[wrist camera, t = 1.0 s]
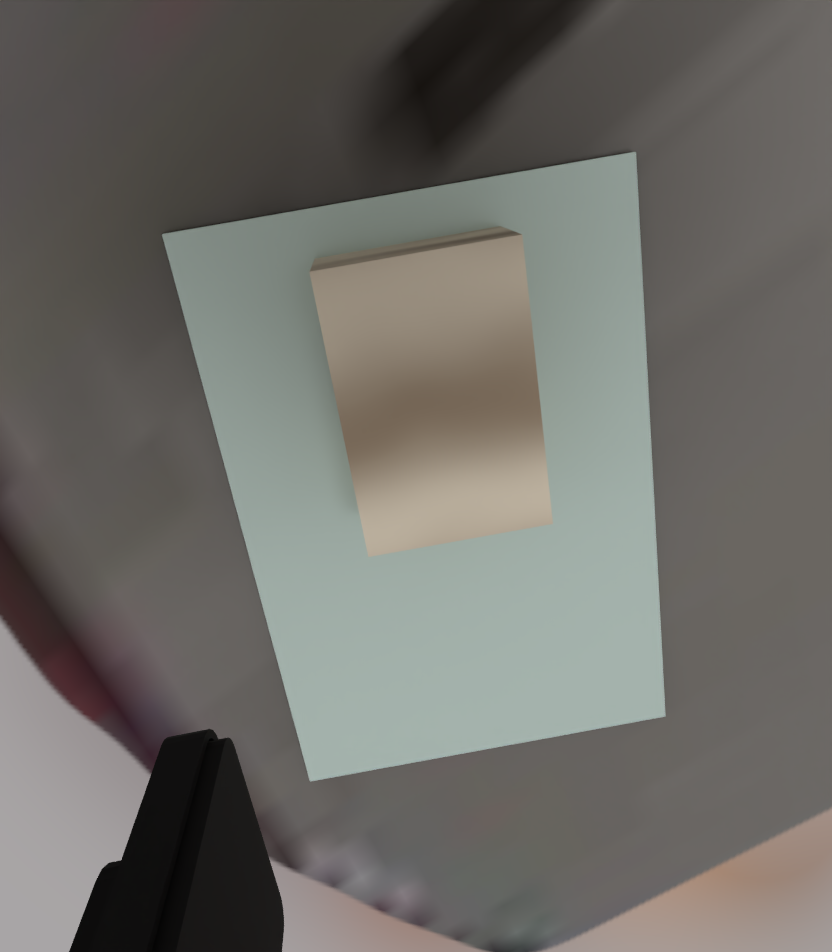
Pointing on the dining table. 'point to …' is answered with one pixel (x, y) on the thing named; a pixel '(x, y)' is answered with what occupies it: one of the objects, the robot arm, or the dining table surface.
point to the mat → (461, 562)
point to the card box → (436, 387)
